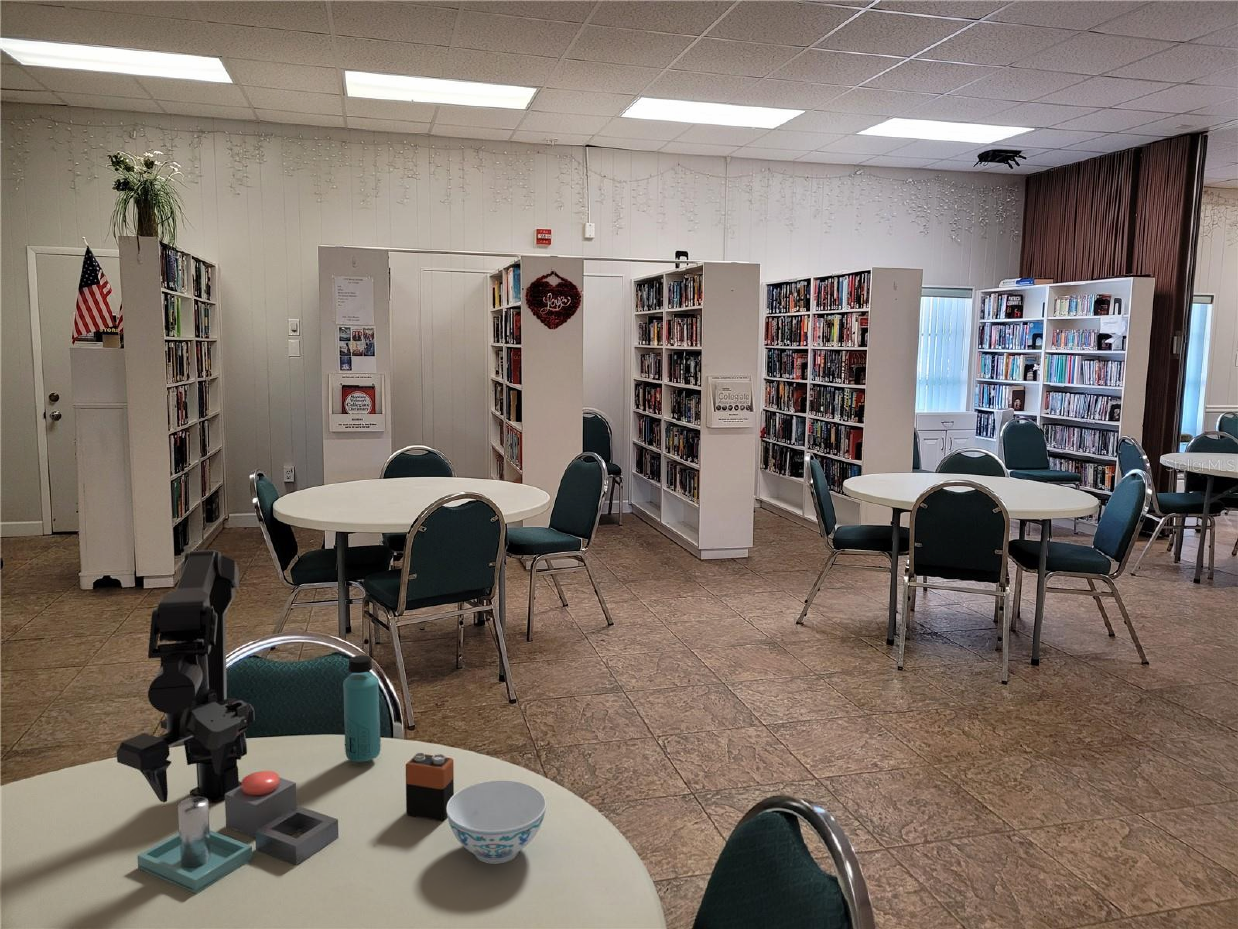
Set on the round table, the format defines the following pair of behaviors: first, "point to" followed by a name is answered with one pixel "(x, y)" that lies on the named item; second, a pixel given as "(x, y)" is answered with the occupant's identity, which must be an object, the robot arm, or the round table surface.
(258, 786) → the release button
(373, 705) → the beverage bottle
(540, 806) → the chinaware
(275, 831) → the socket
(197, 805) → the shiny silver cylinder
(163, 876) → the tray
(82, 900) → the round table surface
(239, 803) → the block
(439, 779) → the battery
